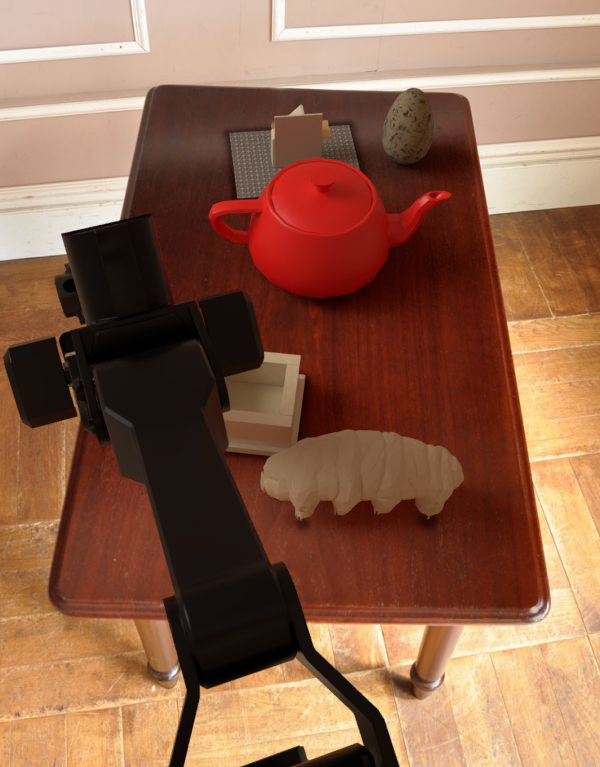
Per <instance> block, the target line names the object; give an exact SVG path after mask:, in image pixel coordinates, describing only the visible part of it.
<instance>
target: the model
mask: <svg viewBox="0 0 600 767" xmlns="http://www.w3.org/2000/svg"><path fill="white" fill-rule="evenodd" d="M464 480H465V476H464V472H463V467H462V464H461V463H460V461H459V459H458V458H457V456H456V455H453V454H451V452H450V451H449V450H448V449H447V448H446V447H444V446H441V445H436V446H435V445H433V444H426V443H424V442H423V441H421V440H418V439H415V438H412V437H409V436H401V435H400V434H399V433H397V432H394V431H389V432H387V431H383V432H381V431H379V430H369V429H367V430H366V429H365V430H364V429H359V430H353V429H343V430H340V431H335V432H330V433H325V434H322V435H318V436H316V437H305V438H303V439H300V440H298V441H297V443H296V444H295V445H294V446H292V447H290V448H287V449H285V450H283V451H281V452H278V453H276V454H274V455H272V456H268V458H267V459H266V461H265V464H264V465H263V470H262V471H261V473H260V489H261V490H262V493H267V496H269V497H271V498H274V499H277V500H278V501H281V502H291V504H292V506H293V507H294V509H295V510H294V516H295V518H296V520H297V521H301V522H302V521H303V519H307V518H310V517H311V516H313V514H314V512H315V510H316V508H317V507H318V505H319V503H320V502H321V501H322V502H326V501H327V502H329V501H331V502H332V506H333V515H335V516H336V515H337V516H345V515H346V514H348V513H349V512H351V511H352V509H353V508H354V507H355V506H356V505H357V504H358V503H360V502H362V501H363V502H364V501H371V505H372V507H373V511H374V512H373V513H374V515H376V513H377V515H378V516H379V515H380V514H388V513H390V512H391V511H393V509H394V508H395V507H396V506H397V505H398V504H399V503H400V502H402V501H406V500H413V499H414V501H415V506H416V507H417V510H418V511H419V512H420V513H421V514H423V515H426V516H427V518H426V520H429V519H430V517H431V518H432V516H435V515H437V514H440V513H441V512H442V511H443V508H444V507H445V503H446V501H448V499H449V498H450V497H451V496H452V494H453V492H454V490H456V489H457V488H459V487H460V485H461V483H463V482H464Z"/></svg>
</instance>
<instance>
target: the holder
mask: <svg viewBox="0 0 600 767" xmlns="http://www.w3.org/2000/svg"><path fill="white" fill-rule="evenodd" d="M301 363H302V355H300V354H292V353H291V354H290V353H282V352H274V351H273V352H272V351H264V361H263V363H262V365H261V367H260V368H258V369H254V370H250V371H247V372H243V373H239V374H235V375H232V376H228V377H224V379H225V383H226V386H227V391H228V395H229V401H230V411H228V412H224V413H223V417H224V422H225V427H226V432H227V437H228V442H229V446H228V448H227V449H226V451H225V452H229V453H238V454H239V453H240V454H248V455H256V456H257V455H258V456H267V457H270V456H272V455H274V454H276V453H278V452H281V451H283V450H285V449H287V448H290V447H292V446H294V445H295V444H296V443H297V442H298V441H299V432H300V425H301V416H302V409H303V400H304V392H305V385H306V374H301Z"/></svg>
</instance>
